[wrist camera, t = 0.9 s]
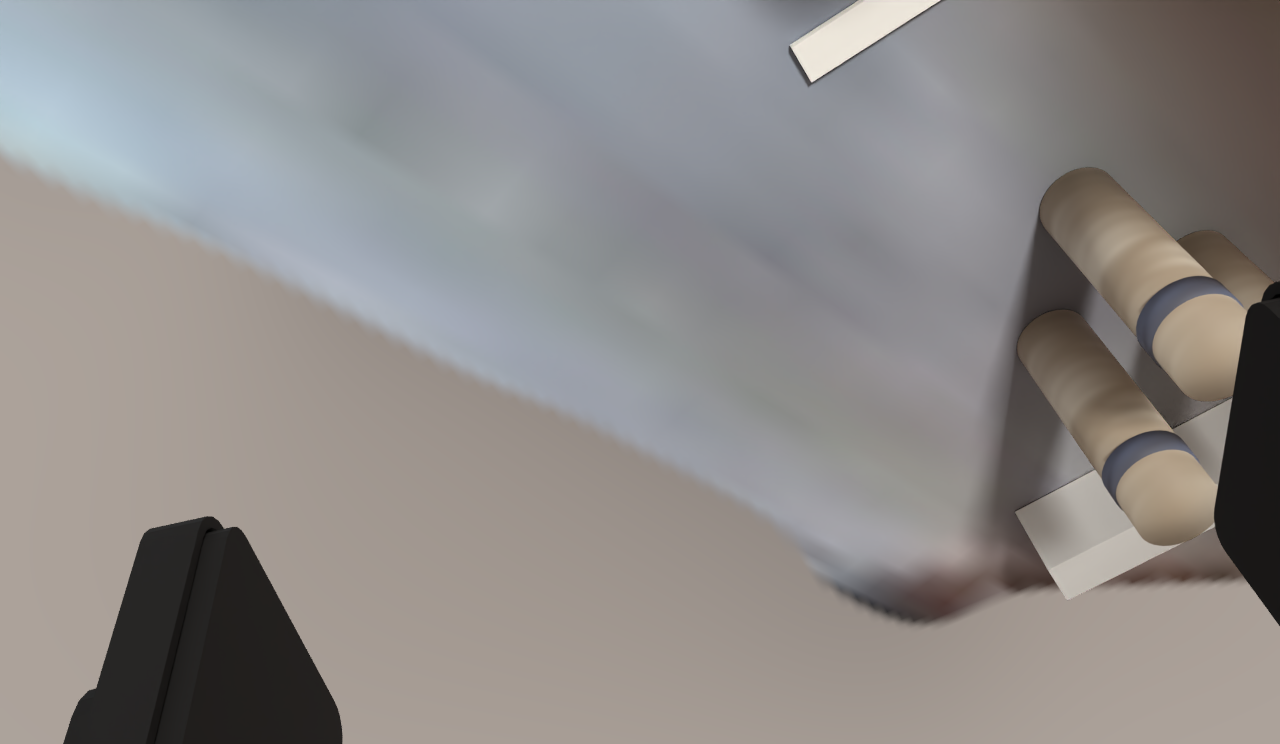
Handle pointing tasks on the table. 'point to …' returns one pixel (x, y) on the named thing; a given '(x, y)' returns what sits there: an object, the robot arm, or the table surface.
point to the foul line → (852, 32)
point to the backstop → (1108, 517)
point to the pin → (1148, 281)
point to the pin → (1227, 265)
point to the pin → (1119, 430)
